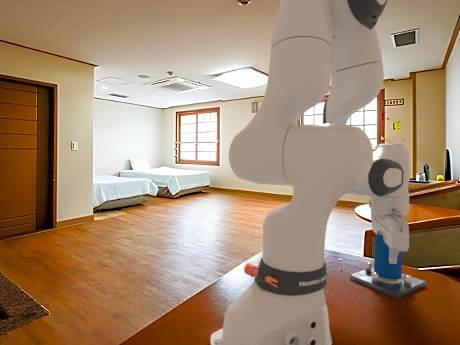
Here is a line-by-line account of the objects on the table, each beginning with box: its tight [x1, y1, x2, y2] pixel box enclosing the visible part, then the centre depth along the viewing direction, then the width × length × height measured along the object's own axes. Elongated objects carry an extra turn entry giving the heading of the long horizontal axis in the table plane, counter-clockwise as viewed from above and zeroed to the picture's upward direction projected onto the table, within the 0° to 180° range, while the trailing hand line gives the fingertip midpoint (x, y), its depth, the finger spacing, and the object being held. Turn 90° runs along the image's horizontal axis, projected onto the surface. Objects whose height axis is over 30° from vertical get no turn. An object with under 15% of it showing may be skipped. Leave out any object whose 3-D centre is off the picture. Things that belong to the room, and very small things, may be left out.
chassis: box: [349, 261, 427, 299], centre depth 79 cm, size 13×13×4 cm
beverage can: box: [373, 231, 403, 281], centre depth 79 cm, size 6×6×12 cm
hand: (387, 257), depth 79 cm, fingers closed on beverage can, 6 cm apart
